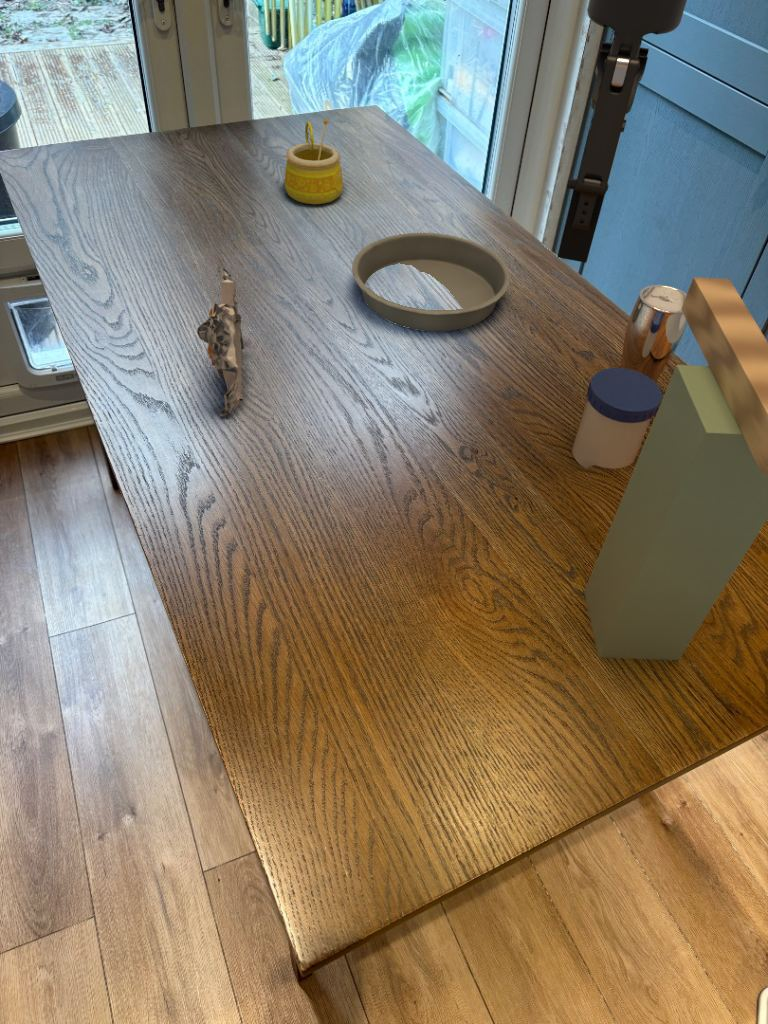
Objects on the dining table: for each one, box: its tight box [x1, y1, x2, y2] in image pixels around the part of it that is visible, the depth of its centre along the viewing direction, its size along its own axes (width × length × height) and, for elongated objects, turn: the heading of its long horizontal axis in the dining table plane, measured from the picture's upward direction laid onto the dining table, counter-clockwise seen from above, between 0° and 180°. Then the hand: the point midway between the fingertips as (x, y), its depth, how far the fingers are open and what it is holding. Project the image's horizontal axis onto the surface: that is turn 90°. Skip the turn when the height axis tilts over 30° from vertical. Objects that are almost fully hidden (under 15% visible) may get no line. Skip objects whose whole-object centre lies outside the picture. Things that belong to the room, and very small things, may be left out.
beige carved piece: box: [197, 266, 244, 419], centre depth 96 cm, size 15×4×13 cm, turn 6°
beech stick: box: [681, 276, 768, 474], centre depth 55 cm, size 20×3×3 cm, turn 0°
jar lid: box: [586, 367, 663, 423], centre depth 88 cm, size 8×8×2 cm
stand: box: [583, 364, 768, 661], centre depth 66 cm, size 8×8×30 cm
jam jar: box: [571, 398, 653, 469], centre depth 92 cm, size 8×8×10 cm
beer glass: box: [619, 284, 688, 385], centre depth 99 cm, size 7×7×15 cm
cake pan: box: [351, 232, 511, 332], centre depth 118 cm, size 25×25×4 cm
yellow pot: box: [284, 118, 344, 205], centre depth 138 cm, size 13×11×12 cm
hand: (579, 226), depth 74 cm, fingers open, 13 cm apart
